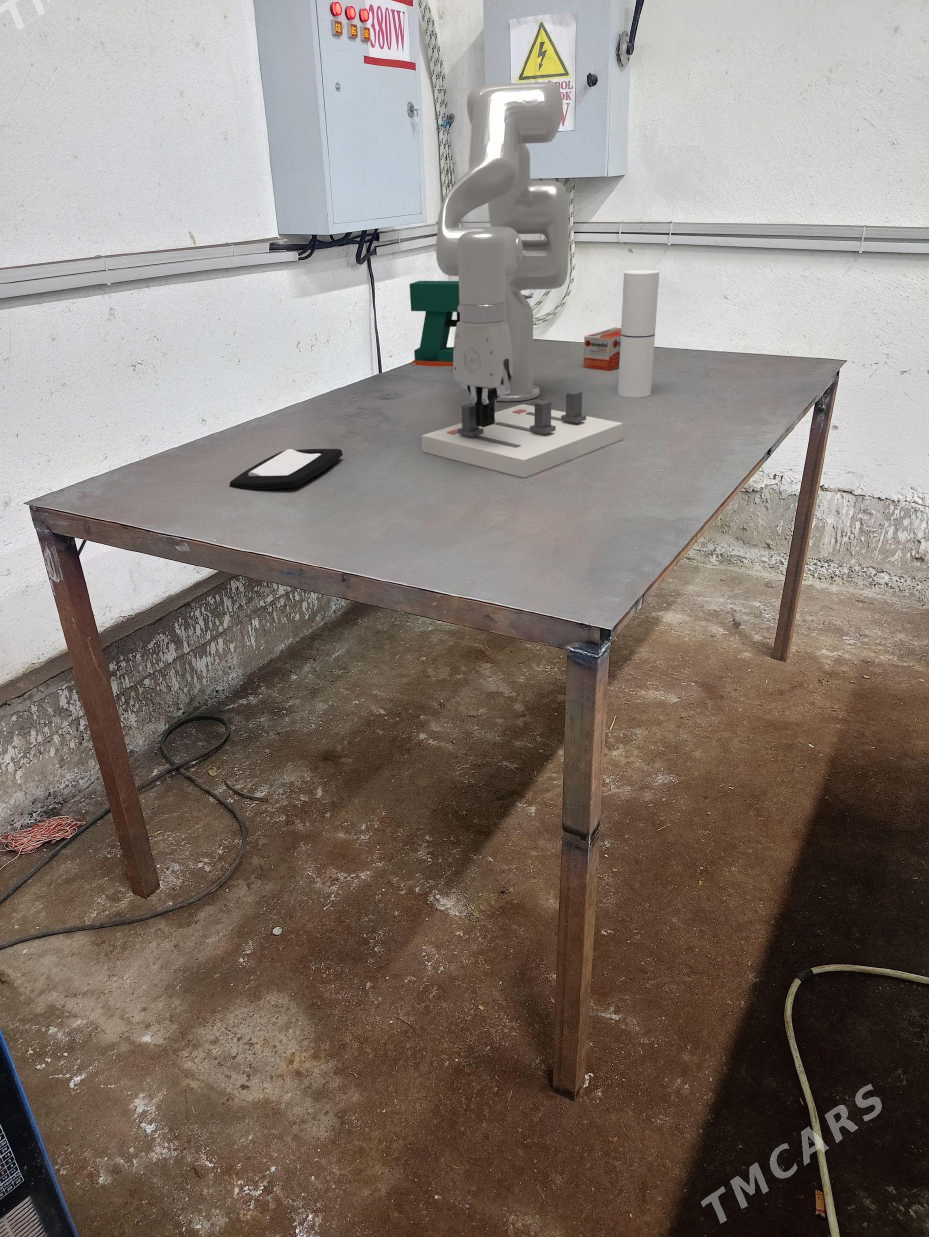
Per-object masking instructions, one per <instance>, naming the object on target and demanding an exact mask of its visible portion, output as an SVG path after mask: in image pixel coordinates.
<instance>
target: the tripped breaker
mask: <svg viewBox="0 0 929 1237" xmlns="http://www.w3.org/2000/svg"><path fill="white" fill-rule="evenodd" d="M461 423H462V428H459V429H458V434H463V435H467V436H471V437H474V436H477V435H480V434H483V429H482V428H479V426H476V423H475V403H474V402H469V403H466V404H463V405H461Z"/></svg>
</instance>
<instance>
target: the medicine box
mask: <svg viewBox="0 0 929 1237" xmlns="http://www.w3.org/2000/svg"><path fill="white" fill-rule="evenodd" d="M583 337H584V339H583V340H584V341H583V368H584V369H593V370H601V371H602V370H603V371H608V372H609V371H610V372H611V371H613V370H617V369H619V363H620V342H621V327H612V328H611V327H610V328H609V329H605V330H601V331H597V332H595V333H594V332H593V333H590V334H587V335H584V336H583Z"/></svg>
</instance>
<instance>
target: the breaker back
mask: <svg viewBox="0 0 929 1237" xmlns="http://www.w3.org/2000/svg"><path fill="white" fill-rule="evenodd" d="M565 394H566V396H565V412H566V414H565V415H562V416H561V420H564V421H569V422H574V423H578V422H581V421H584V420H586V416H587V415H586V414H583V413H582V411H583V410H582V409H583V391H579V390H572V391H569V392H566V393H565Z"/></svg>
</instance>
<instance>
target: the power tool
mask: <svg viewBox="0 0 929 1237" xmlns="http://www.w3.org/2000/svg"><path fill="white" fill-rule="evenodd" d="M522 295H523V296H524V297H525V299H526V300H527V299H532V298H533V299H534V296H531V295H527V294H523V293H522ZM409 298H410V299H409V300H410V312H425V316H424V320H423V326H422V333H421V338H420V344H419V347H418V348H416V349H413V350H414V351H413V352H414V359H413V360H412V361H411V364H413V363H416V364H415V365H421V367H422V366H423V367H442V366H453V352H454V346H453V347H452V346H448V341H449V336H450V330H451V328H456V325H457V322H460V313H459V312H458V310H457V308H458V305H460V302H459V280H417V281H414V282H411V283H409ZM454 313H456V319H453V315H454ZM415 365H414V366H415Z"/></svg>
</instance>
